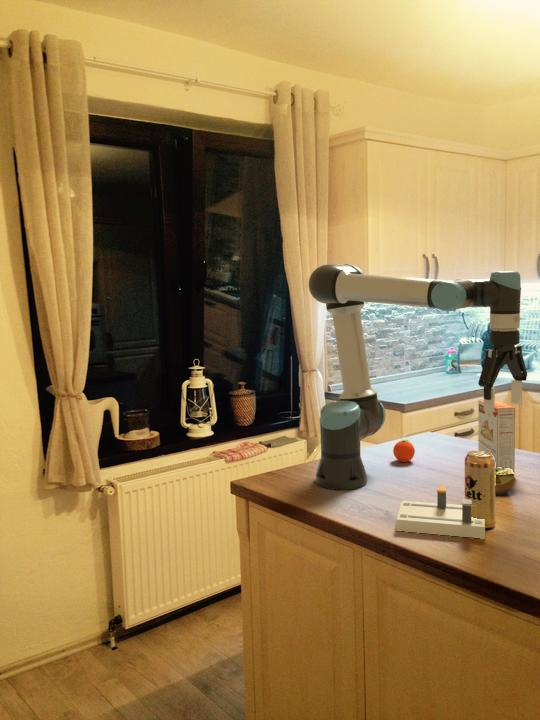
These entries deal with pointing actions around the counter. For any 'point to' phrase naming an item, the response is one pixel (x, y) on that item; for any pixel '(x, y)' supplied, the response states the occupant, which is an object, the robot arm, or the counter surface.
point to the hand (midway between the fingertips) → (503, 407)
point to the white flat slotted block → (437, 520)
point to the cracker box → (498, 433)
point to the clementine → (404, 451)
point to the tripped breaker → (441, 497)
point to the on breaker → (466, 510)
